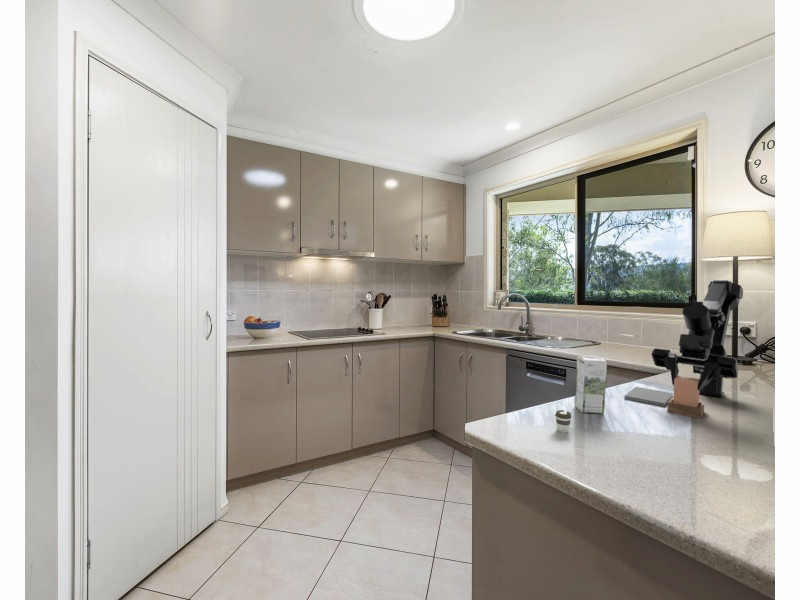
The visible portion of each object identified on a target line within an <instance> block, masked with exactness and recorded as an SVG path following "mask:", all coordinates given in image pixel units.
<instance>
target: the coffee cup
mask: <svg viewBox="0 0 800 600" xmlns="http://www.w3.org/2000/svg"><path fill="white" fill-rule="evenodd" d="M555 412H556V413H555V414H554V416H555V422H556V423H555V424H556V431H557V432H559V433H568V432H569V430H570V424H571V419H572V414H571V411H569V410H567V411H566V410H565V409H564V410H563V409H561V410H557V411H555Z"/></svg>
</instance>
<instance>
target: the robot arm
mask: <svg viewBox="0 0 800 600" xmlns="http://www.w3.org/2000/svg"><path fill="white" fill-rule="evenodd" d="M743 296H744V288H743V287H742V285H741V284H738V283H737V284H736V283H734V282H732V281H731V280H728V279H727V280H726V279H725V280H724V279H722V280H720V279H719V280H716V279H713V280H711V281H710V282H709V284H708V286H707V292H706V294H705V296H704V297H703V300H702V301H697V300H696V301H694V302H693V303H692V304H689V305H687V306H685V307H684V308H683V309H682V315H683V316H682V317H683V319H684V323H685V327H686V329H687V330H688V332H687V333H681V334H680V336H679V341H678V346H679V350H678V351H679V353H680V354H681V355H679V354H677V353H673V352H671V350H670V349H667V348H659V347H655V348H654V349H652V351H651V357H652V360H653V363H654V365H655V366H657V367H659V368H660V367H661V368H665V369H666V370H667V371H670V376H671V384H672V386H673V387H674V379H675V378H676V377H677V376H679V372H680V371H679V366H678V364H681V365H687V366H692V373H693V374H699V379H700V380H699V383H698V390H699V395H704V396H709V397H710V396H711V397H715V398H722V399H723V398H724V396H725V392H724V391H723V385H724V384H723V383H724V382H723V381H724V379H731V378H732V379H737V378H738V375H739V364H738V360H737V359H736V358H735V357H732V356H731V357H729V356H727V352H726V349H725V348H724V344H725V340H726V334H727V330H728V326H729V321H730V317H731V311H733V310H735V308H737V307H738V306H739V304H740V301H741V300H742V299H743Z"/></svg>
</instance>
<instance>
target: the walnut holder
mask: <svg viewBox="0 0 800 600" xmlns="http://www.w3.org/2000/svg"><path fill="white" fill-rule="evenodd" d="M673 398H674V396H673V397H672V398H671V399H670V401H669V402H668V403H667V408H666V411H667V413H672V414H677V415H681V416H686V417H691V418H696V419H701V418H702V417H703V415H704V413H705V402H701V401H699V408H696V407H690V406H685V405H680V404H675V403H673Z"/></svg>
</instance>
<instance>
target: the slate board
mask: <svg viewBox="0 0 800 600" xmlns="http://www.w3.org/2000/svg"><path fill="white" fill-rule="evenodd" d="M672 397H674V392H668V391H662V390H657V389H651V388H645V387H640V386H635V387H634V388H633V389H631V390H629V391H628V393H626V394H624V400H628V399H630V401H633V400H635V401H634V402H638V401H640V403H643V402H645V404H648V403H650V404H649V405H653V406H659V407H665V406H666V405H668V402H669V401H670V399H671V398H672Z"/></svg>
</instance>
